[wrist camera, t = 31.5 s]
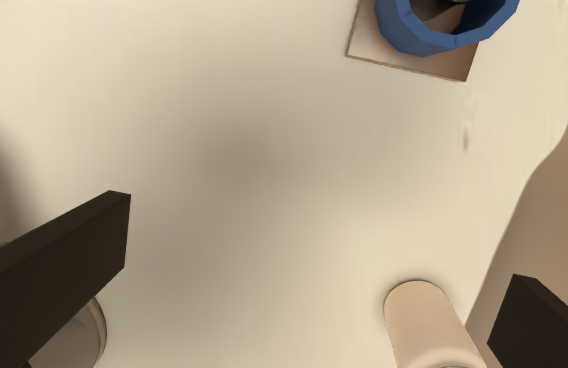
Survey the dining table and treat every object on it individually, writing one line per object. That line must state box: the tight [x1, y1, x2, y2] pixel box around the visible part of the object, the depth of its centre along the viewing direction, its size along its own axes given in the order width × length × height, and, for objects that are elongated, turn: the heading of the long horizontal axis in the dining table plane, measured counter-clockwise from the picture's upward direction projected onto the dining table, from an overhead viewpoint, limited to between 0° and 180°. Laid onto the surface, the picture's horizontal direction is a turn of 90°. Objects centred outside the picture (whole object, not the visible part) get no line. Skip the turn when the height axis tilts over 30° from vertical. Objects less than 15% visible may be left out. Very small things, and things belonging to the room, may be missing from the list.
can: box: [384, 281, 487, 368], centre depth 34 cm, size 6×6×12 cm
